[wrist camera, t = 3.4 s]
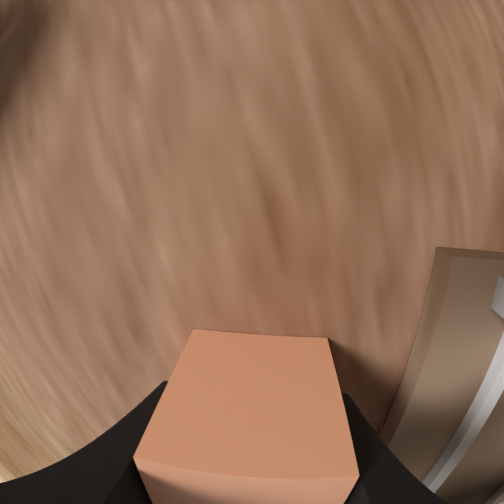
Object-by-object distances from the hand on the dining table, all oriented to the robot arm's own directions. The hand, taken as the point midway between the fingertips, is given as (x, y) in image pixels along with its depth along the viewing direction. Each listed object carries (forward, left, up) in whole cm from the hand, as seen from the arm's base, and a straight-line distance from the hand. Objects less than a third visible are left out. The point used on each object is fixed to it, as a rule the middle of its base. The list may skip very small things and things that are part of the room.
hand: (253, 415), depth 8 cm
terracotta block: (0, 0, -1) cm, 1 cm away
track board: (-10, -13, -1) cm, 16 cm away
